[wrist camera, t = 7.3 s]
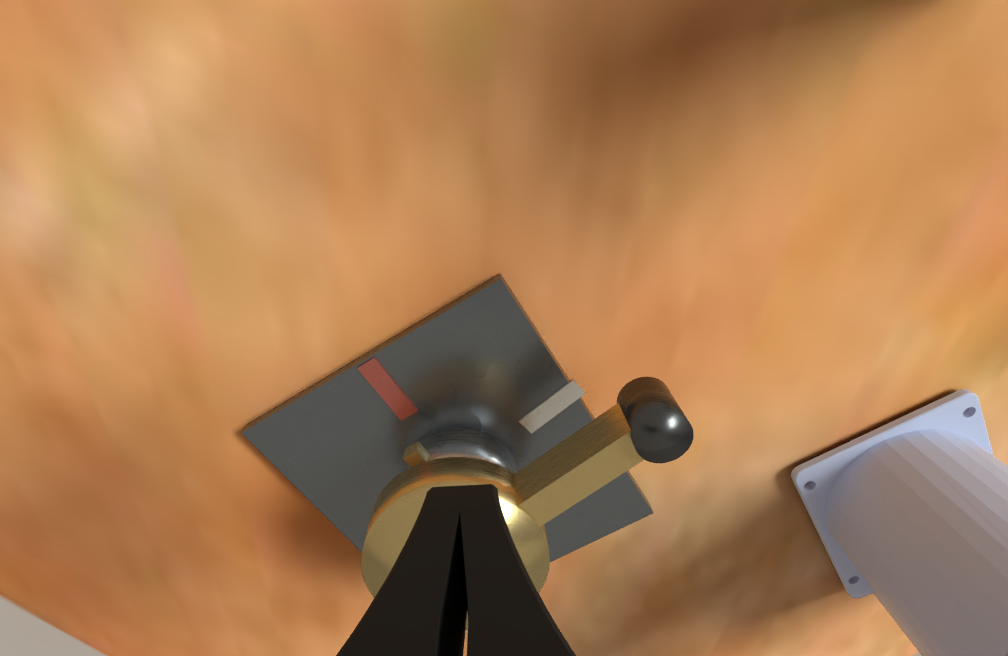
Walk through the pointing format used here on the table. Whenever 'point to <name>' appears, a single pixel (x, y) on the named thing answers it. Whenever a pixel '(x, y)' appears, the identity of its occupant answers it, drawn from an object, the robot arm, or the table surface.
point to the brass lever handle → (535, 478)
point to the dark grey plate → (440, 417)
